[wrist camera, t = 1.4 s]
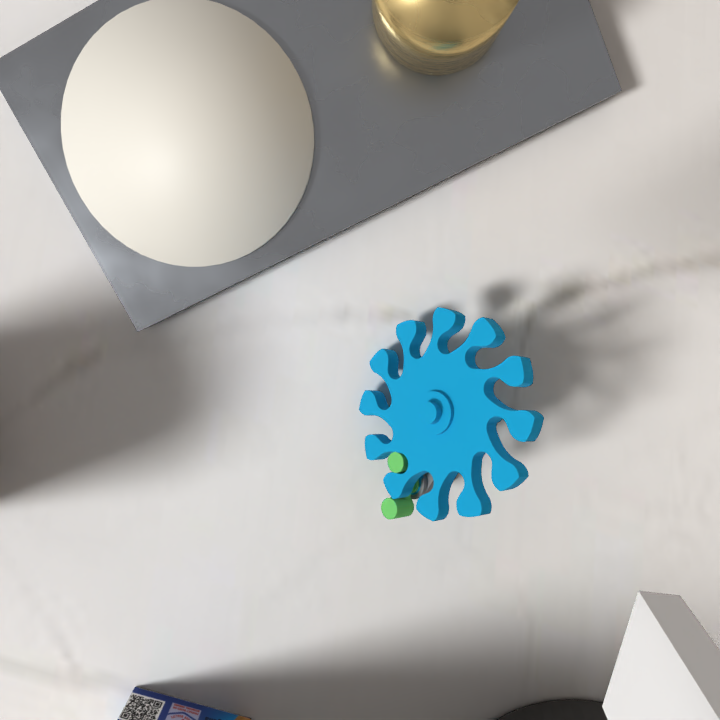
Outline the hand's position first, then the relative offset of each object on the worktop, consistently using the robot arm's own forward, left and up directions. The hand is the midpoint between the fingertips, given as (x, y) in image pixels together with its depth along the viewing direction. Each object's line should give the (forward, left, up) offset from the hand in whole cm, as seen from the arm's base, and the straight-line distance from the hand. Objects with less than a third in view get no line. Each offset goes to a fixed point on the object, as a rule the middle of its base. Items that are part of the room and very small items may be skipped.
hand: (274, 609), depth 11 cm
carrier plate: (+6, -13, -21) cm, 25 cm away
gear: (-5, 0, -21) cm, 22 cm away
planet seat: (+10, -8, -19) cm, 24 cm away
